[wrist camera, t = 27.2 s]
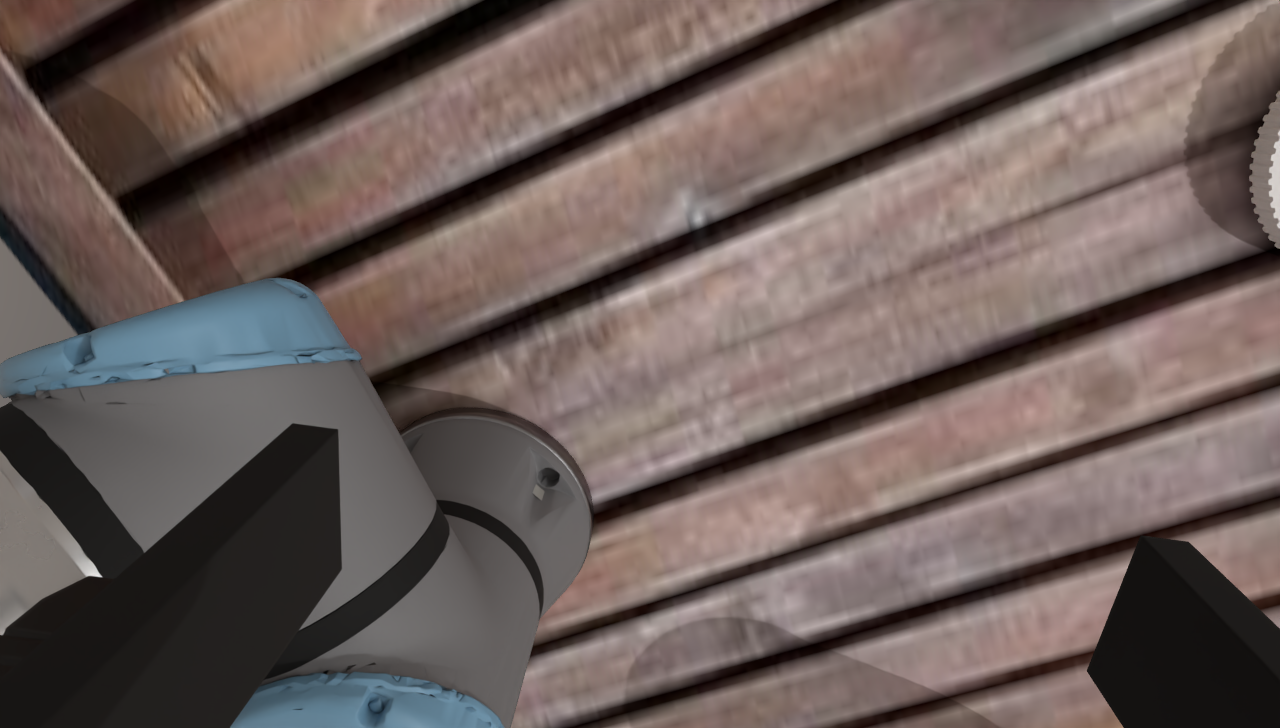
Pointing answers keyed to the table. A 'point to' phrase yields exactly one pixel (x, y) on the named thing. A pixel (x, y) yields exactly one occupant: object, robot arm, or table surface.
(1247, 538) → the table surface
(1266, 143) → the plastic lid
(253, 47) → the table surface
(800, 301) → the table surface
